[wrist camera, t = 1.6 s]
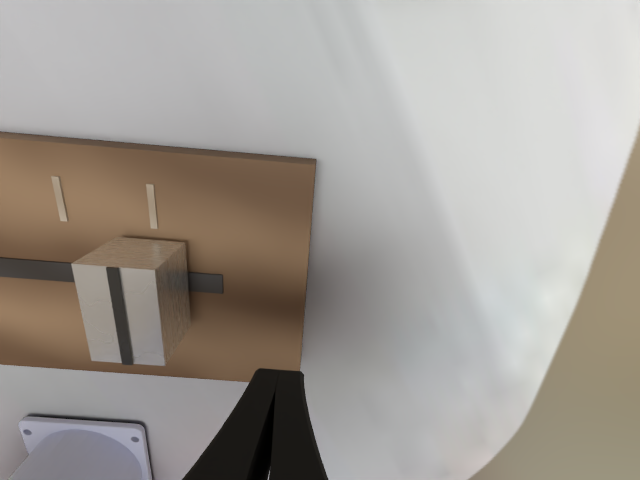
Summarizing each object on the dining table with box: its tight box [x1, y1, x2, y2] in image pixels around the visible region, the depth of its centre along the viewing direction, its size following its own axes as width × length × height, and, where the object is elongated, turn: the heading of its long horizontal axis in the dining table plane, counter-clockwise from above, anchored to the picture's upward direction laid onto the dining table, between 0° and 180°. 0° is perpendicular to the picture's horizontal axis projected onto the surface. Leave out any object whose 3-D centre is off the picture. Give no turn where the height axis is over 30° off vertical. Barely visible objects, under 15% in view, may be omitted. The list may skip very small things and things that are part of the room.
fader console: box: [0, 132, 316, 382], centre depth 16 cm, size 12×26×2 cm, turn 85°
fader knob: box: [71, 237, 191, 366], centre depth 14 cm, size 4×3×3 cm
